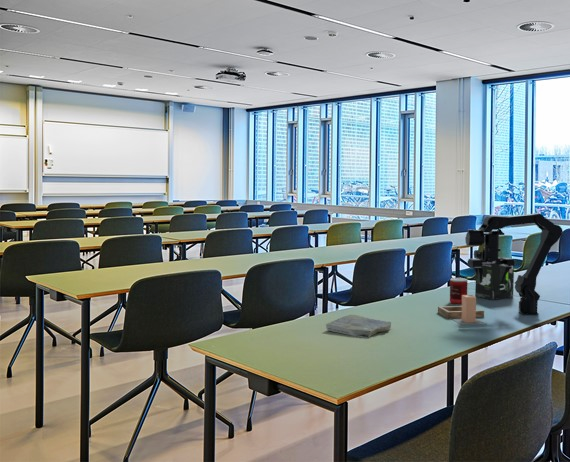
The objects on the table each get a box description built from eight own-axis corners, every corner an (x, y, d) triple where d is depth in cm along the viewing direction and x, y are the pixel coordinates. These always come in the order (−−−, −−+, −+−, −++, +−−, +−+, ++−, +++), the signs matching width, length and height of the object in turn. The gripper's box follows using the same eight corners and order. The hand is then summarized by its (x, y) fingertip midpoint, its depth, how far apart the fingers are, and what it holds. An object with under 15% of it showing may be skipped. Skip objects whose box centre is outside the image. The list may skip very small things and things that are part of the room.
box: (491, 300, 278) (492, 260, 277) (474, 296, 289) (475, 257, 287) (514, 297, 284) (515, 258, 282) (496, 293, 295) (497, 255, 293)
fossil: (373, 342, 213) (394, 329, 227) (373, 330, 212) (394, 317, 226) (326, 336, 225) (348, 323, 239) (325, 324, 224) (348, 312, 238)
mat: (474, 319, 242) (474, 317, 242) (486, 325, 232) (486, 323, 232) (451, 320, 240) (451, 318, 240) (462, 326, 230) (462, 324, 230)
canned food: (465, 301, 277) (465, 277, 276) (468, 305, 269) (469, 280, 268) (448, 301, 278) (448, 277, 277) (451, 304, 270) (451, 280, 269)
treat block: (471, 319, 238) (471, 295, 237) (475, 322, 234) (476, 296, 233) (461, 320, 238) (462, 295, 237) (465, 322, 234) (466, 297, 233)
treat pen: (464, 306, 265) (464, 300, 265) (488, 318, 244) (488, 310, 243) (427, 308, 263) (427, 301, 263) (448, 319, 241) (448, 312, 241)
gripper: (502, 243, 259) (501, 278, 260) (462, 244, 256) (461, 280, 258) (516, 246, 248) (515, 283, 249) (473, 247, 245) (473, 284, 247)
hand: (490, 282), depth 251 cm, fingers open, 9 cm apart
